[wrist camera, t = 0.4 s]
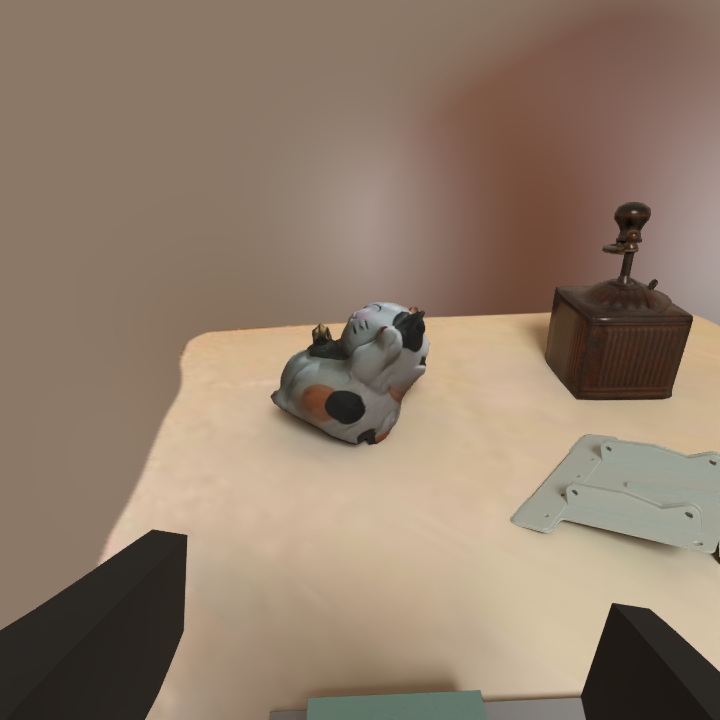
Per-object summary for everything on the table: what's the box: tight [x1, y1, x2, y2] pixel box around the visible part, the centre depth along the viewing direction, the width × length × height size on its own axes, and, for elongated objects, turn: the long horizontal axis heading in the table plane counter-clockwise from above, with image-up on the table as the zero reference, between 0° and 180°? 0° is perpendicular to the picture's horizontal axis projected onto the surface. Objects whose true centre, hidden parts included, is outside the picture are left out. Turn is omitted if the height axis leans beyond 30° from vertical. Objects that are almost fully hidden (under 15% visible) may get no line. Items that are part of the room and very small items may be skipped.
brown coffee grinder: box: [545, 202, 693, 400], centre depth 58 cm, size 16×11×18 cm
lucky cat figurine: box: [271, 302, 430, 445], centre depth 50 cm, size 15×12×14 cm
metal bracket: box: [511, 434, 720, 555], centre depth 40 cm, size 14×6×15 cm
